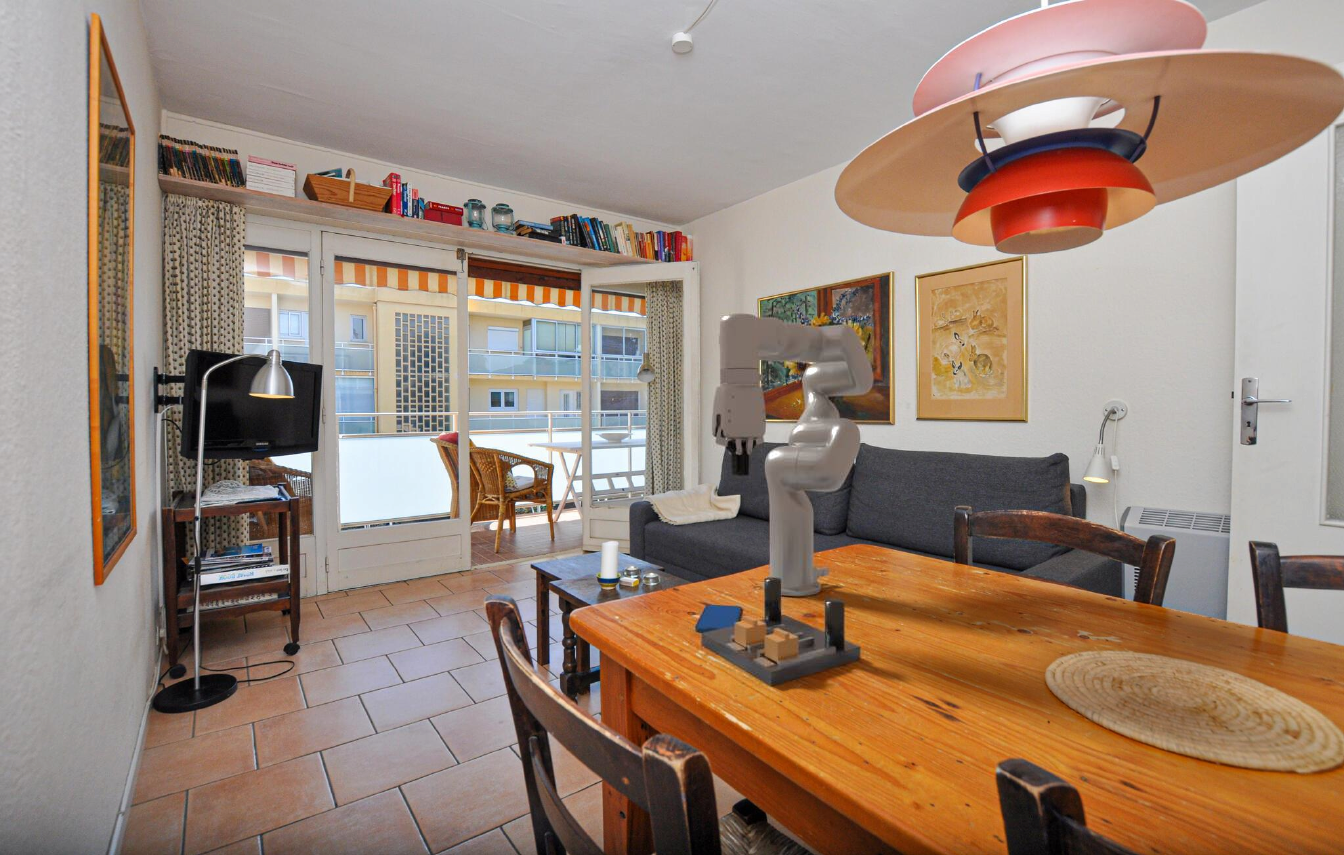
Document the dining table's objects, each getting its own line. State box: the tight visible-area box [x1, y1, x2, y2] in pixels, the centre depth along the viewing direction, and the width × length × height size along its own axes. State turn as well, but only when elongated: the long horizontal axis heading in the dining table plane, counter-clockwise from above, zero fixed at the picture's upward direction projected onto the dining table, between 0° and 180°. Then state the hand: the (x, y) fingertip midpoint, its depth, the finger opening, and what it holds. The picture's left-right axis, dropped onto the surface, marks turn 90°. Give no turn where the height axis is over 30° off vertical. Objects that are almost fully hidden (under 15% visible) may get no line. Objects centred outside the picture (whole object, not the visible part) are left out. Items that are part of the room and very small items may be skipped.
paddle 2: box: [765, 628, 798, 662], centre depth 90 cm, size 4×3×4 cm
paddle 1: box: [735, 615, 766, 647], centre depth 96 cm, size 4×3×4 cm
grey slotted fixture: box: [701, 576, 861, 687], centre depth 98 cm, size 18×19×9 cm
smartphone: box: [694, 604, 743, 633], centre depth 113 cm, size 7×1×15 cm
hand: (740, 474), depth 115 cm, fingers closed
